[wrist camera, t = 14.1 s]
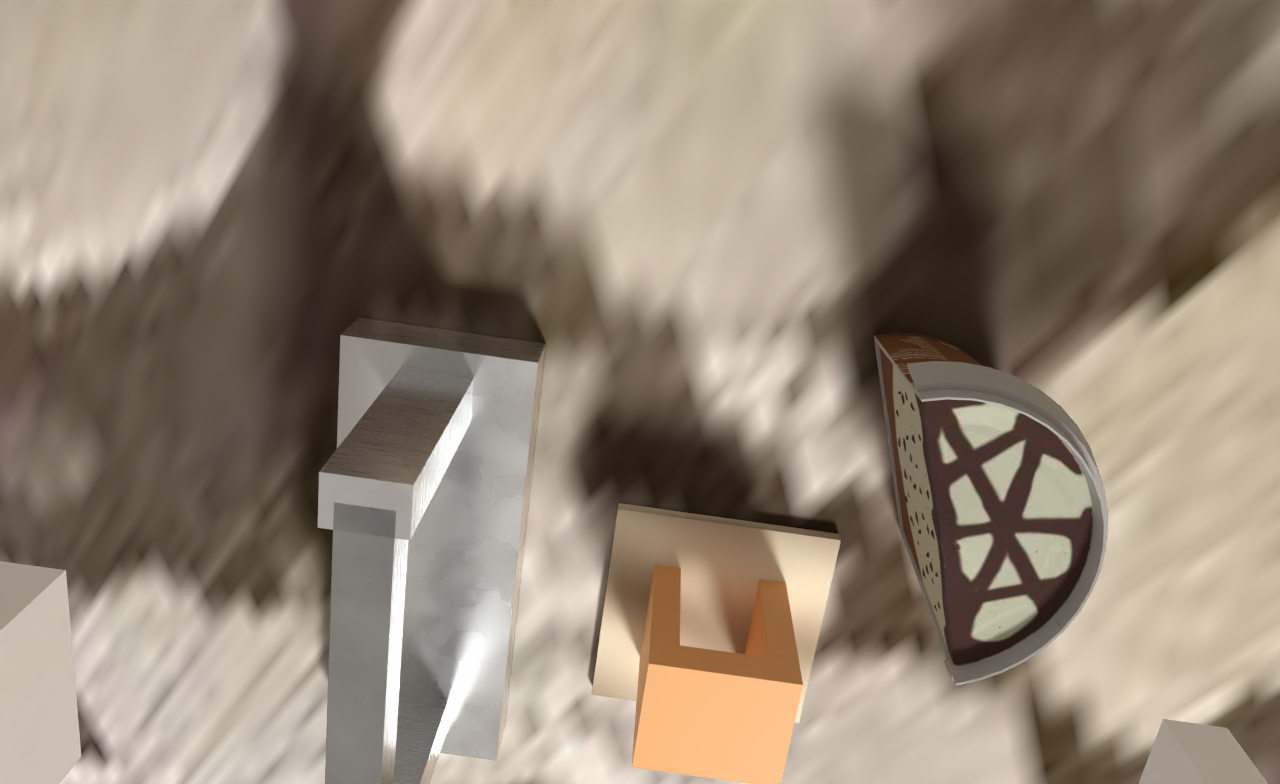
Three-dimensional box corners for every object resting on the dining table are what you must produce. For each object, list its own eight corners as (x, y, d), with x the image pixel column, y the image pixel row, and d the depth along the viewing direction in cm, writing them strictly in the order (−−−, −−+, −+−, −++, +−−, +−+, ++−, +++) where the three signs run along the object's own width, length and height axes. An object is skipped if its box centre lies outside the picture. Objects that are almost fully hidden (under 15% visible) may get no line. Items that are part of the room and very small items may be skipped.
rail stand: (358, 317, 44) (240, 431, 32) (545, 343, 44) (494, 467, 32) (344, 703, 51) (242, 911, 39) (505, 725, 51) (451, 940, 39)
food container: (1042, 537, 46) (1132, 673, 37) (903, 559, 47) (957, 698, 38) (1020, 272, 42) (1115, 350, 33) (868, 300, 43) (919, 384, 33)
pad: (618, 503, 47) (617, 509, 46) (838, 533, 47) (840, 540, 46) (592, 686, 50) (591, 694, 50) (797, 715, 50) (798, 723, 50)
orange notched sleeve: (654, 564, 47) (648, 663, 40) (785, 582, 47) (803, 685, 40) (639, 656, 49) (631, 767, 42) (766, 674, 49) (779, 787, 42)
